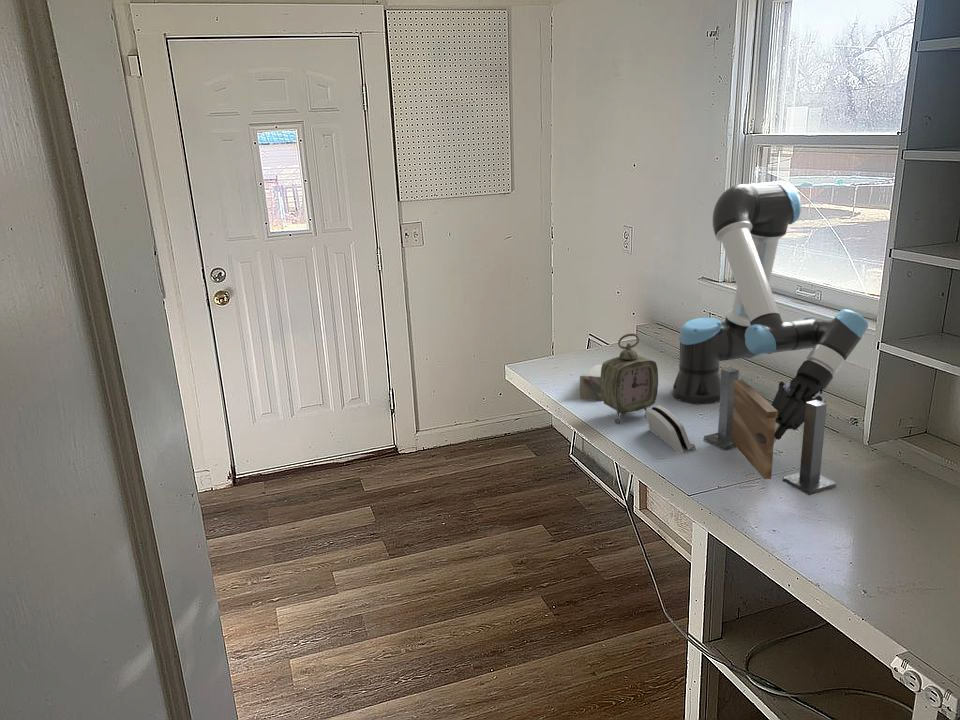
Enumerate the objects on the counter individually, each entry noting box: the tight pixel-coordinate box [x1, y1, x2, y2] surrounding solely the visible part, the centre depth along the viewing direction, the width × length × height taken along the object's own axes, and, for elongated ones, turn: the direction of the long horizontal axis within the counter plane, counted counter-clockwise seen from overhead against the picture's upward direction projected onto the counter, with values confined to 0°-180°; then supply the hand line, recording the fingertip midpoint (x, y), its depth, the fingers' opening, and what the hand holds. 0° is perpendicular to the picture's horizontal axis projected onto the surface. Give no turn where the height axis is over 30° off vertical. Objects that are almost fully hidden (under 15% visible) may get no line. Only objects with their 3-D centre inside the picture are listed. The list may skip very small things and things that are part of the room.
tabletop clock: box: [600, 333, 659, 425], centre depth 212 cm, size 14×9×25 cm, turn 115°
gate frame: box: [703, 366, 837, 496], centre depth 181 cm, size 8×36×20 cm, turn 24°
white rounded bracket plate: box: [644, 404, 697, 454], centre depth 197 cm, size 17×5×10 cm, turn 14°
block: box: [579, 363, 603, 402], centre depth 237 cm, size 19×8×8 cm, turn 157°
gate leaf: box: [731, 379, 778, 480], centre depth 179 cm, size 3×22×17 cm, turn 2°
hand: (763, 447), depth 179 cm, fingers closed
